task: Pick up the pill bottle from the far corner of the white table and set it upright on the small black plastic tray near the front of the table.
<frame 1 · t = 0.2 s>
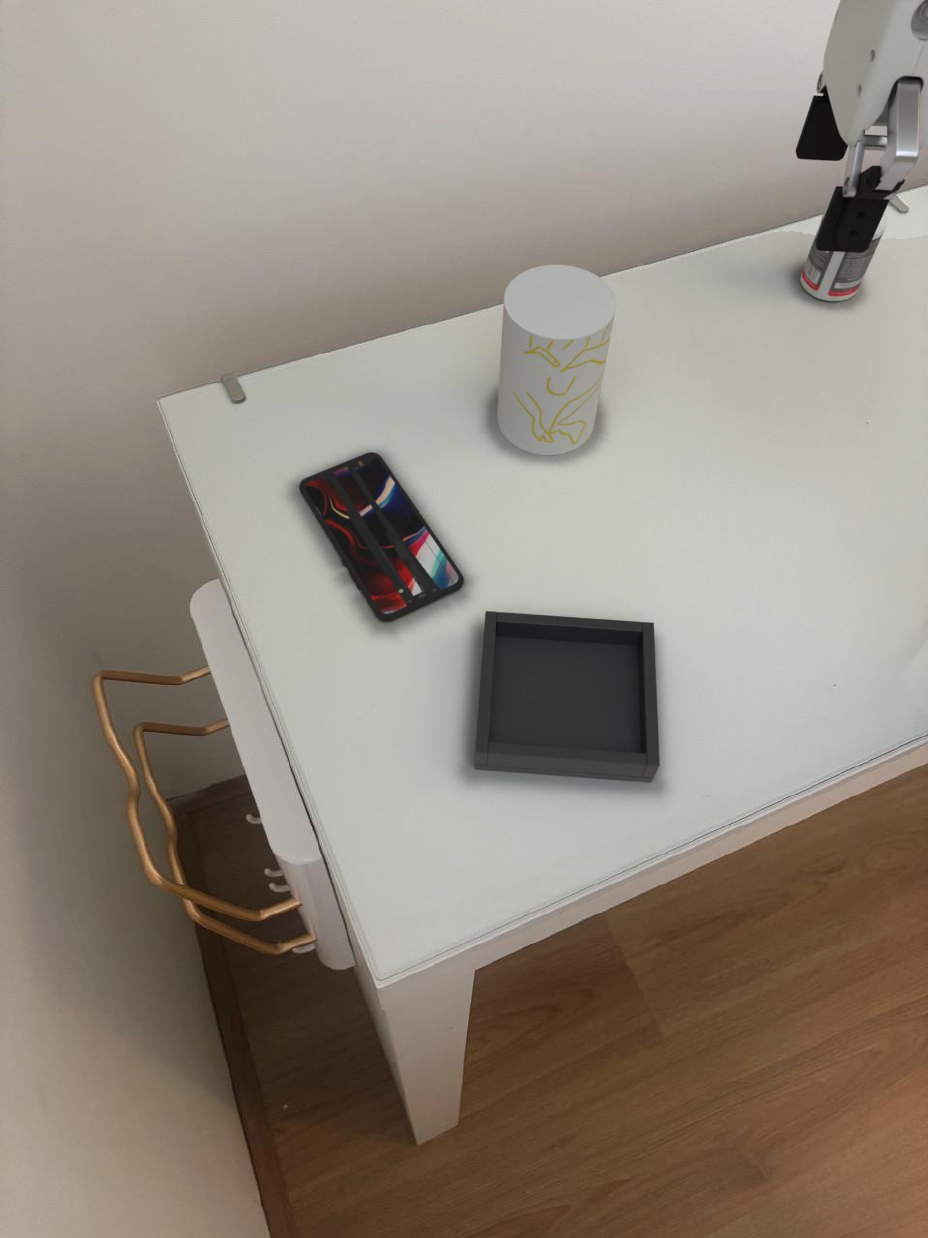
hand: (828, 201, 60), 20 cm above the table, tool pointing down, fingers open, 9 cm apart
cup: (545, 420, 77), on the table
smartphone: (378, 536, 70), on the table
pill bottle: (826, 286, 86), on the table
tray: (564, 703, 63), on the table
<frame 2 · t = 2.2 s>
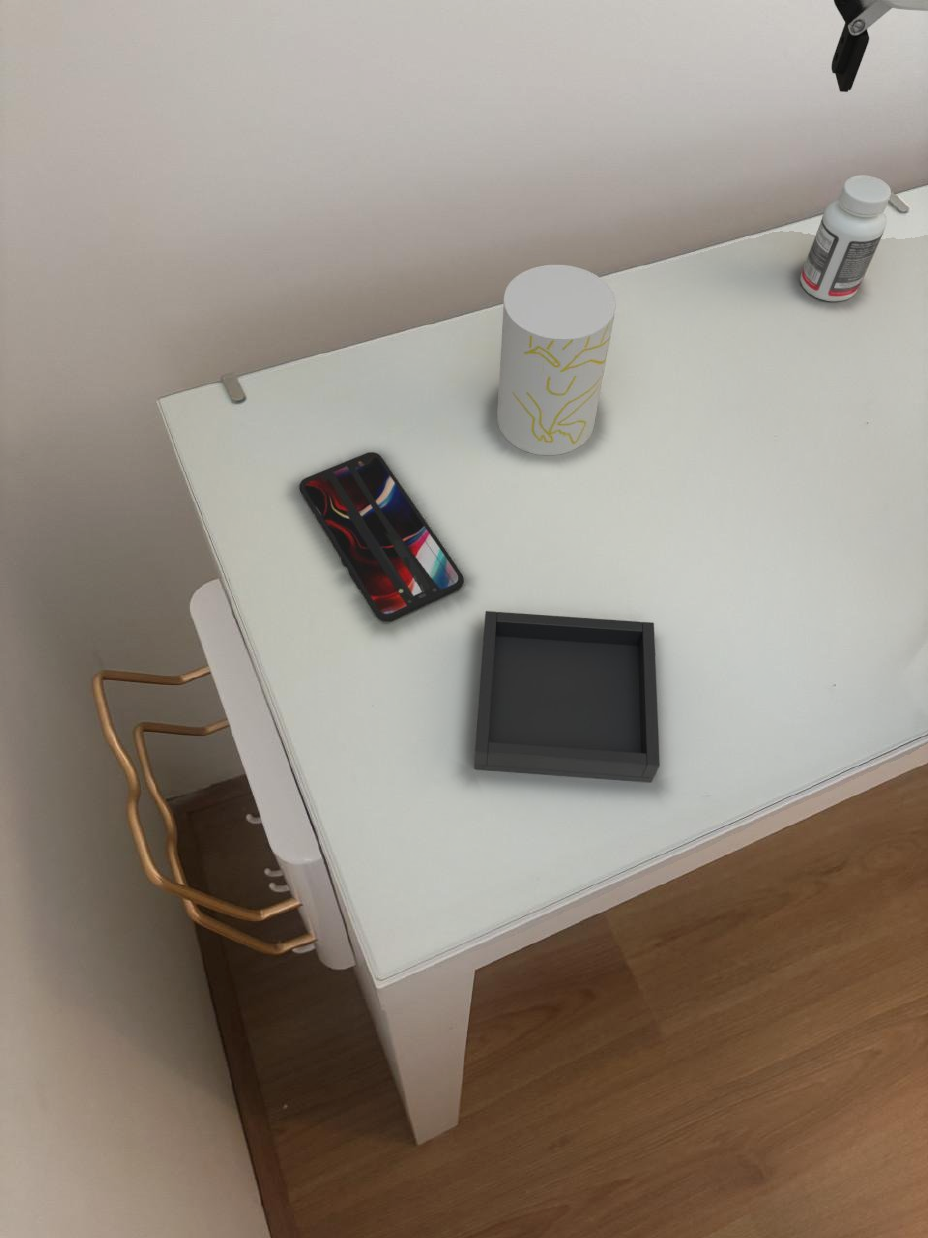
hand: (905, 85, 70), 19 cm above the table, tool pointing down, fingers open, 9 cm apart
nothing on the table moved.
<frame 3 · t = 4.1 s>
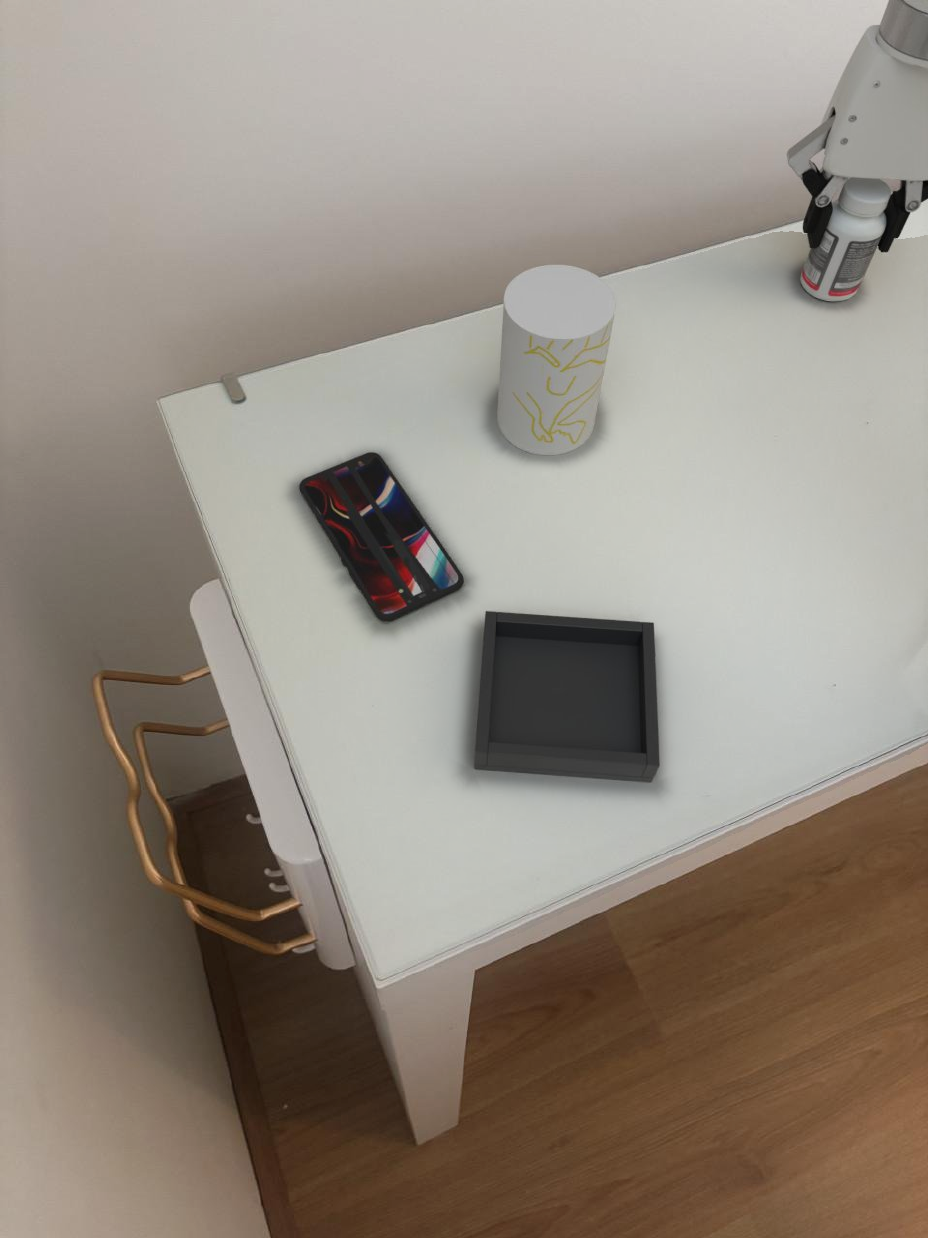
hand: (846, 238, 82), 5 cm above the table, tool pointing down, fingers closed on pill bottle, 5 cm apart
pill bottle: (826, 286, 86), on the table, touching gripper
everything else where it was.
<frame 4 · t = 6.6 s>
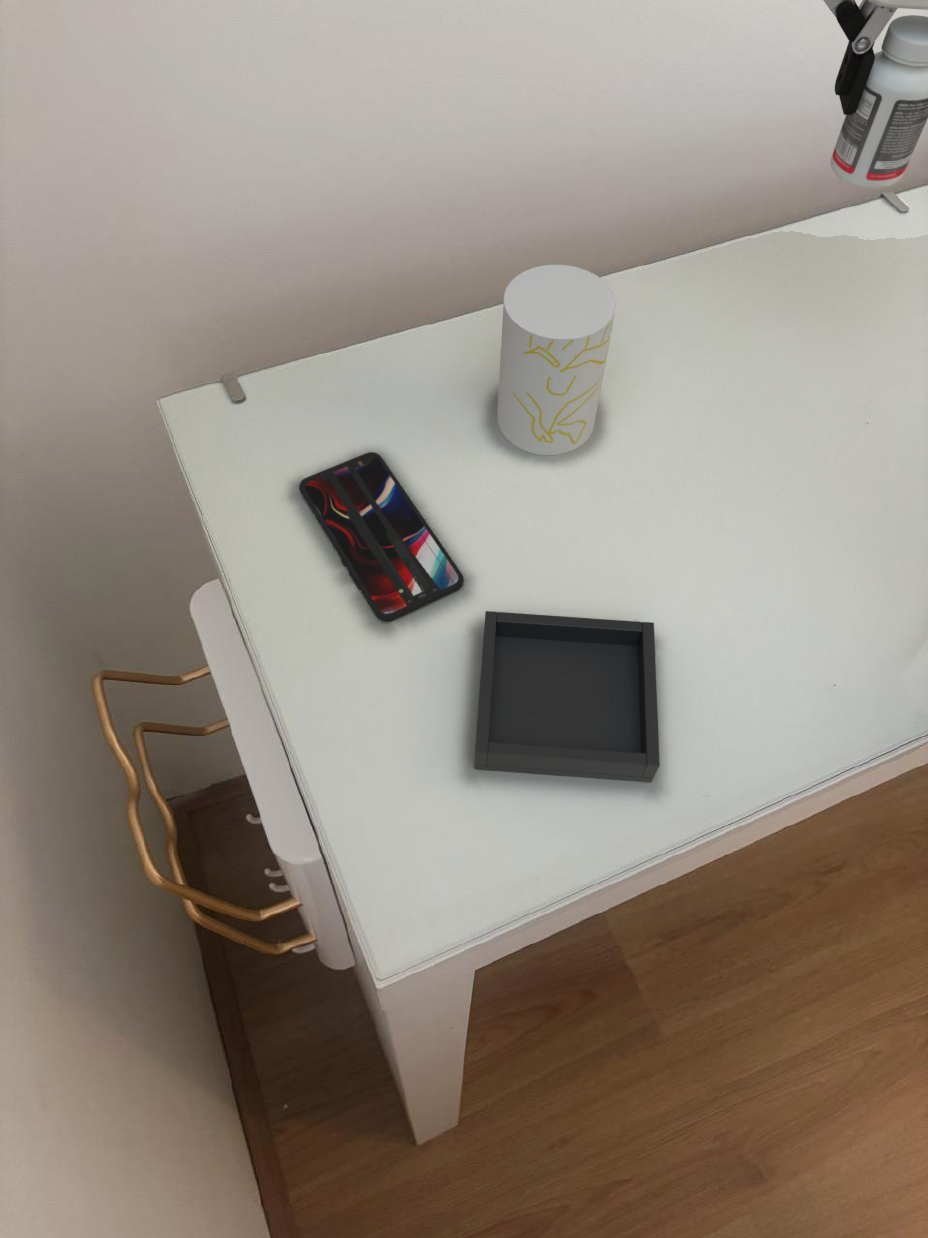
hand: (890, 104, 64), 21 cm above the table, tool pointing down, fingers closed on pill bottle, 5 cm apart
pill bottle: (863, 172, 69), point 16 cm above the table, touching gripper
everything else where it was.
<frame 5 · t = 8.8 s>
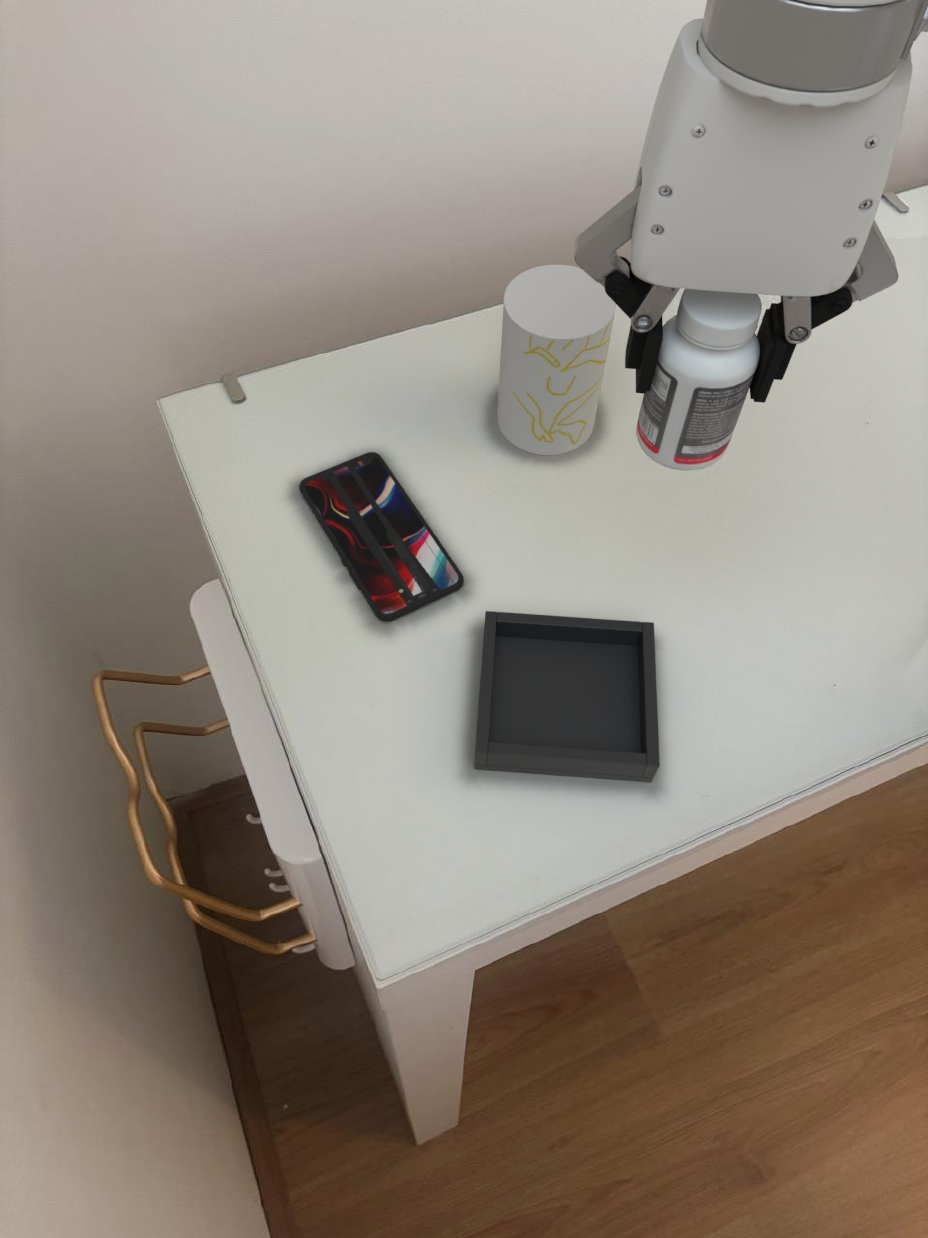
hand: (699, 376, 49), 21 cm above the table, tool pointing down, fingers closed on pill bottle, 5 cm apart
pill bottle: (679, 441, 54), point 16 cm above the table, touching gripper
everything else where it was.
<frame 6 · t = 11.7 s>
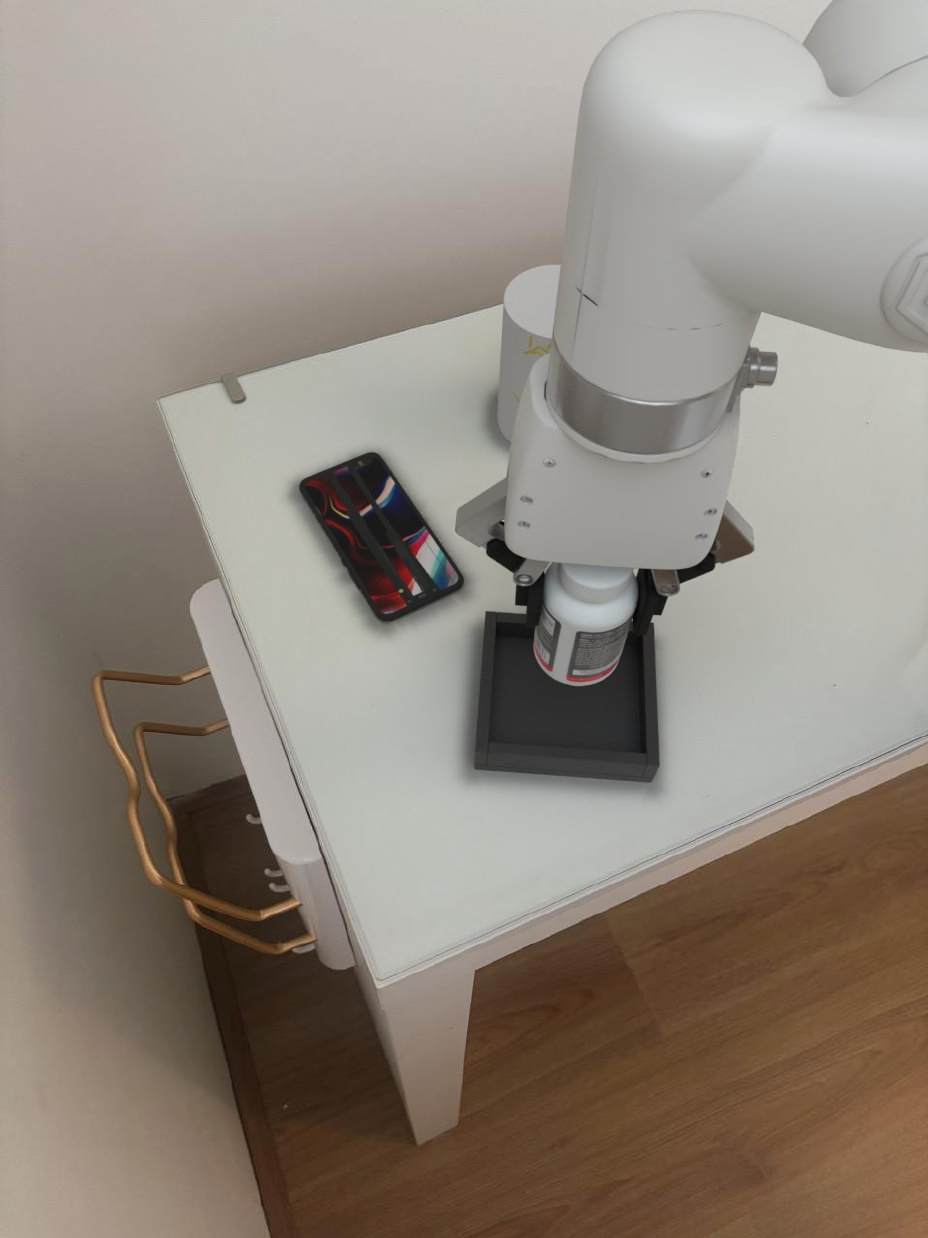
hand: (585, 608, 52), 12 cm above the table, tool pointing down, fingers closed on pill bottle, 5 cm apart
pill bottle: (575, 651, 57), point 7 cm above the table, touching gripper
everything else where it was.
when the fingers open (6 cm above the table, at t = 13.7 s): pill bottle stays where it is, resting on tray.
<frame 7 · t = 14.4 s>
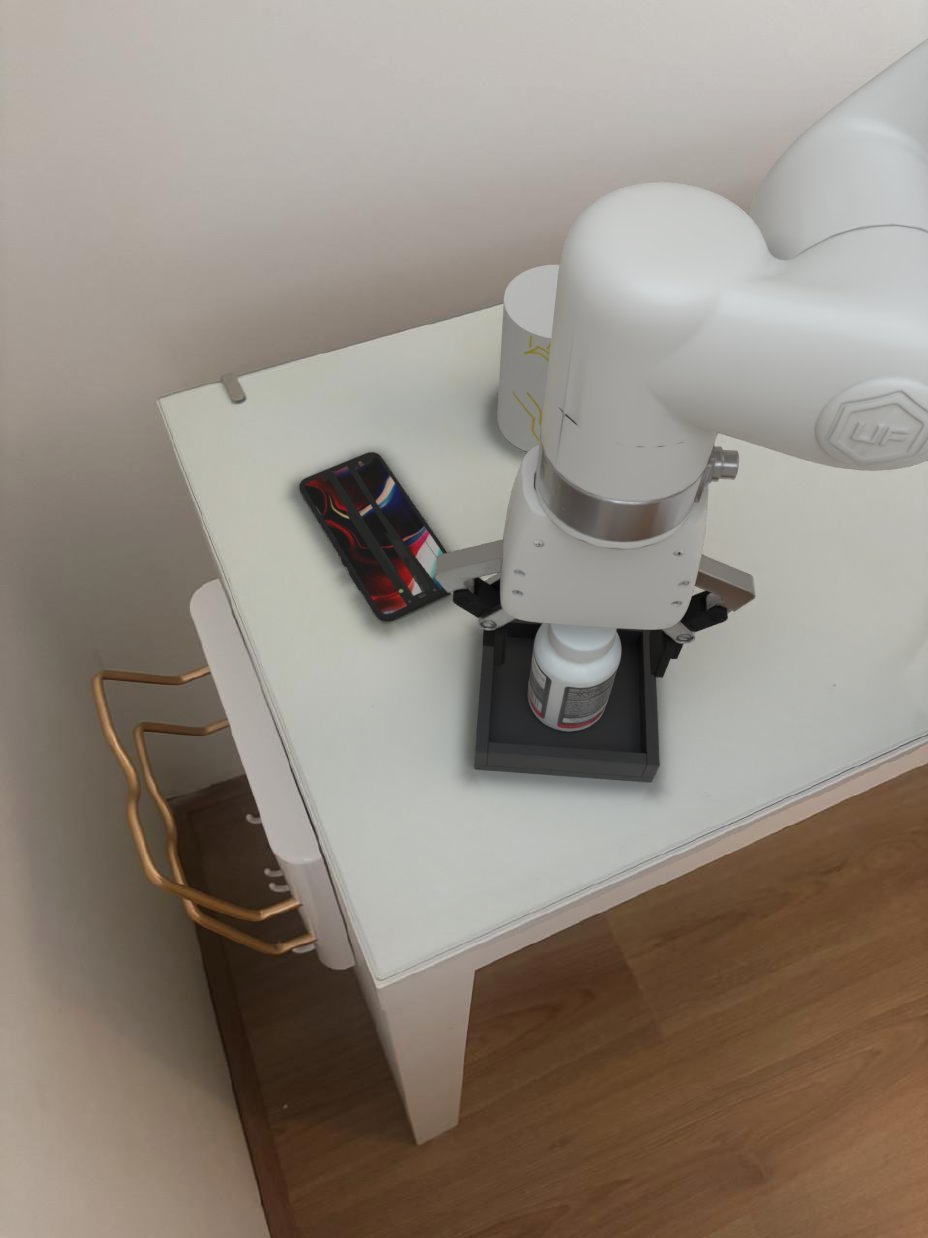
hand: (577, 651, 57), 7 cm above the table, tool pointing down, fingers open, 9 cm apart
pill bottle: (565, 699, 62), point 1 cm above the table, touching tray
everything else where it was.
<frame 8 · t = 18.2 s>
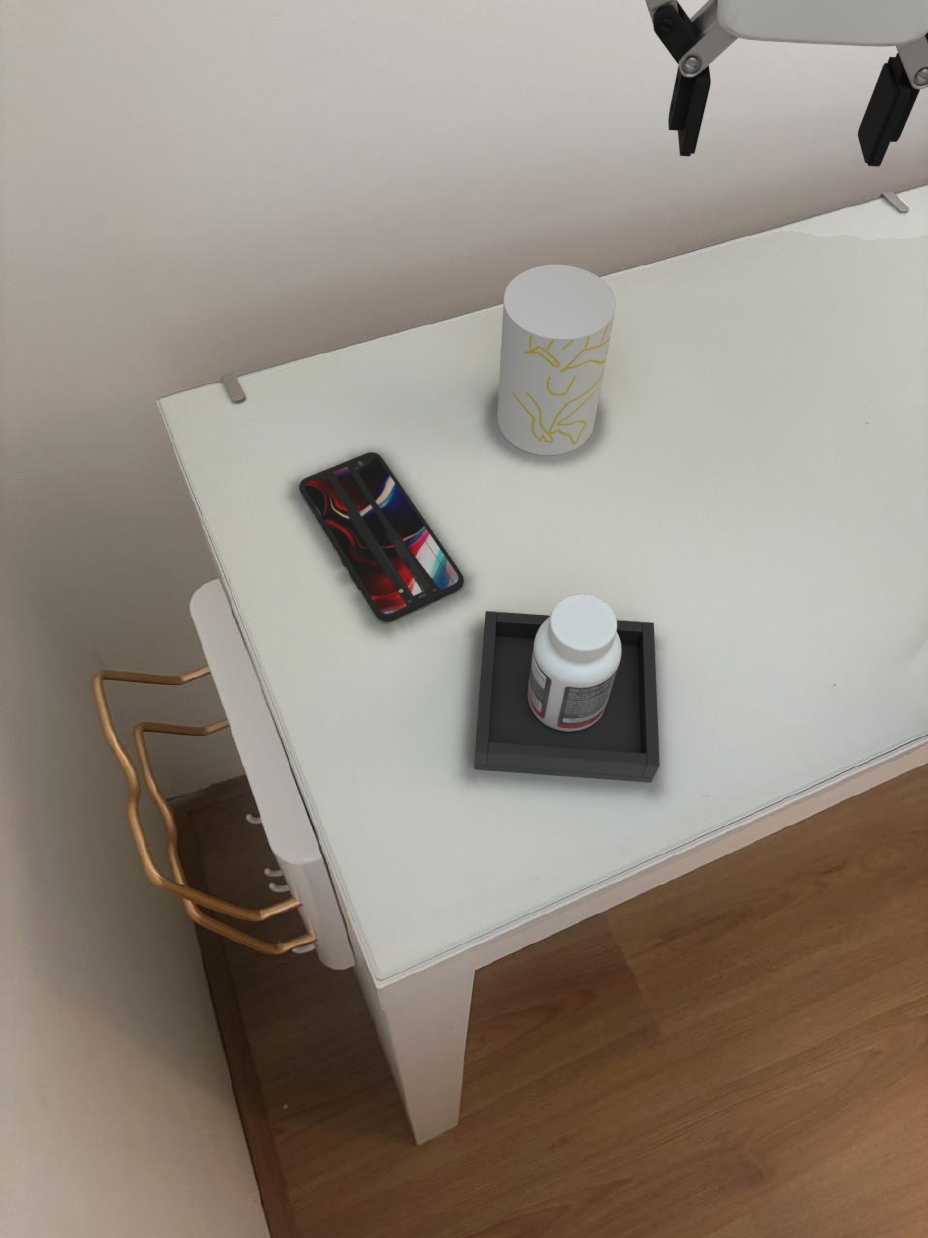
hand: (775, 146, 49), 28 cm above the table, tool pointing down, fingers open, 9 cm apart
nothing on the table moved.
at the end: pill bottle 0.1 cm off-centre in the tray, point 0.6 cm above the tray's base; pill bottle tilted 0°; the gripper is holding nothing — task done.
